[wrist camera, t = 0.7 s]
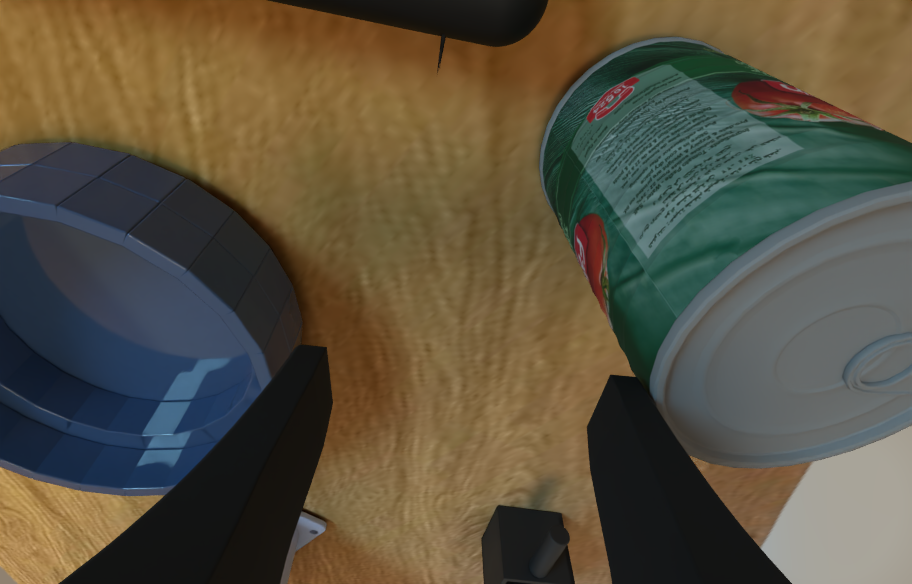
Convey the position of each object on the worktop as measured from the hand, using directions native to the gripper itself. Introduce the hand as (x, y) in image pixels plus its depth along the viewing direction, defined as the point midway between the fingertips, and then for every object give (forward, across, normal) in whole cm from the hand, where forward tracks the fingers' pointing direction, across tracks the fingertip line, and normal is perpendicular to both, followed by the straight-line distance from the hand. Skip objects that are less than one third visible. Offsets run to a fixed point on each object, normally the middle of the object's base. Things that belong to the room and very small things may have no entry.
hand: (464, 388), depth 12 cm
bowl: (+9, +15, +8) cm, 19 cm away
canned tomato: (+11, -6, -2) cm, 13 cm away
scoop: (+9, -6, +23) cm, 25 cm away
